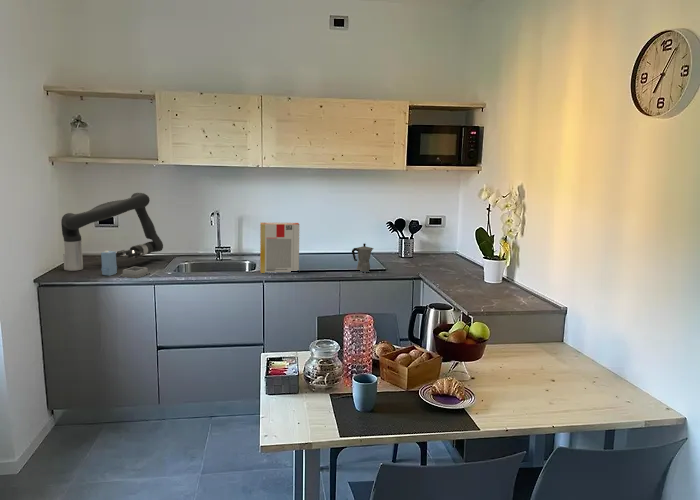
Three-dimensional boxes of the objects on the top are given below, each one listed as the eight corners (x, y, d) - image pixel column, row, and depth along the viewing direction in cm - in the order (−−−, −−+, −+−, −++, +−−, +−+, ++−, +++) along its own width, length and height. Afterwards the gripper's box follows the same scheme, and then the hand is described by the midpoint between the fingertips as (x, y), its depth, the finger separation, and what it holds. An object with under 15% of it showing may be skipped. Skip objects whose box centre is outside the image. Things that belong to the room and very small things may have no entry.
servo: (100, 275, 308) (99, 251, 306) (111, 272, 317) (109, 248, 314) (108, 276, 307) (106, 251, 304) (118, 273, 315) (117, 249, 313)
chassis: (120, 276, 307) (120, 270, 306) (133, 272, 318) (133, 266, 318) (137, 278, 304) (137, 271, 304) (150, 273, 316) (149, 267, 315)
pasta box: (297, 270, 337) (298, 222, 331) (298, 273, 329) (299, 224, 323) (260, 270, 333) (260, 222, 327) (260, 273, 325) (260, 224, 319)
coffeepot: (368, 269, 346) (369, 241, 343) (376, 272, 338) (377, 244, 335) (347, 271, 339) (348, 243, 335) (355, 274, 330) (355, 245, 327)
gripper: (128, 244, 337) (111, 248, 322) (148, 245, 334) (132, 250, 319) (129, 256, 339) (112, 261, 323) (149, 257, 335) (132, 262, 320)
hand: (121, 255), depth 321 cm, fingers open, 8 cm apart
